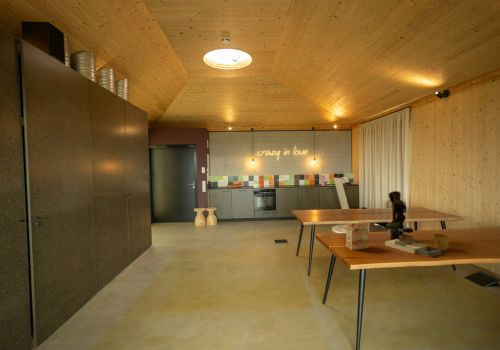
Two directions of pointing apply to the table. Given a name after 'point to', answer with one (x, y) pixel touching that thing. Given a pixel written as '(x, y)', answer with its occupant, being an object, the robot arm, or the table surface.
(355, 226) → the coffeecake box
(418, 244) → the tunnel deck
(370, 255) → the table surface
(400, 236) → the walnut block
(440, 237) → the plant pot
